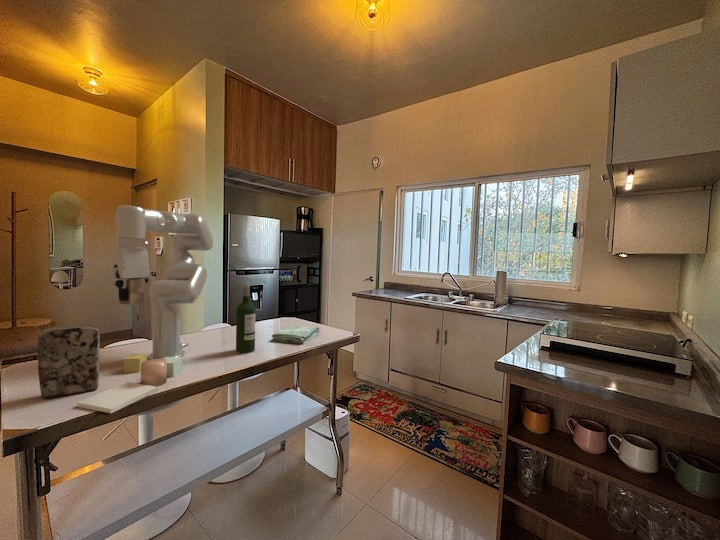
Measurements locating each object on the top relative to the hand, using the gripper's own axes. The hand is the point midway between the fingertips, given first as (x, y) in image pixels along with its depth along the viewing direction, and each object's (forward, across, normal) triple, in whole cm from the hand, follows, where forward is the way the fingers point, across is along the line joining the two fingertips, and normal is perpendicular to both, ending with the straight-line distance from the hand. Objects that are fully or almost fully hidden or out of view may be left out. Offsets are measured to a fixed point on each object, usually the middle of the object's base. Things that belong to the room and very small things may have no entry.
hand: (131, 298), depth 99 cm
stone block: (+28, +12, -8) cm, 31 cm away
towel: (+28, -65, +28) cm, 76 cm away
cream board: (+27, +11, +9) cm, 31 cm away
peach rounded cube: (+27, 0, +9) cm, 29 cm away
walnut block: (+1, 0, 0) cm, 1 cm away
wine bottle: (+27, -38, +17) cm, 50 cm away
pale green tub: (+27, -8, +7) cm, 29 cm away
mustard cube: (+27, -7, -7) cm, 29 cm away
